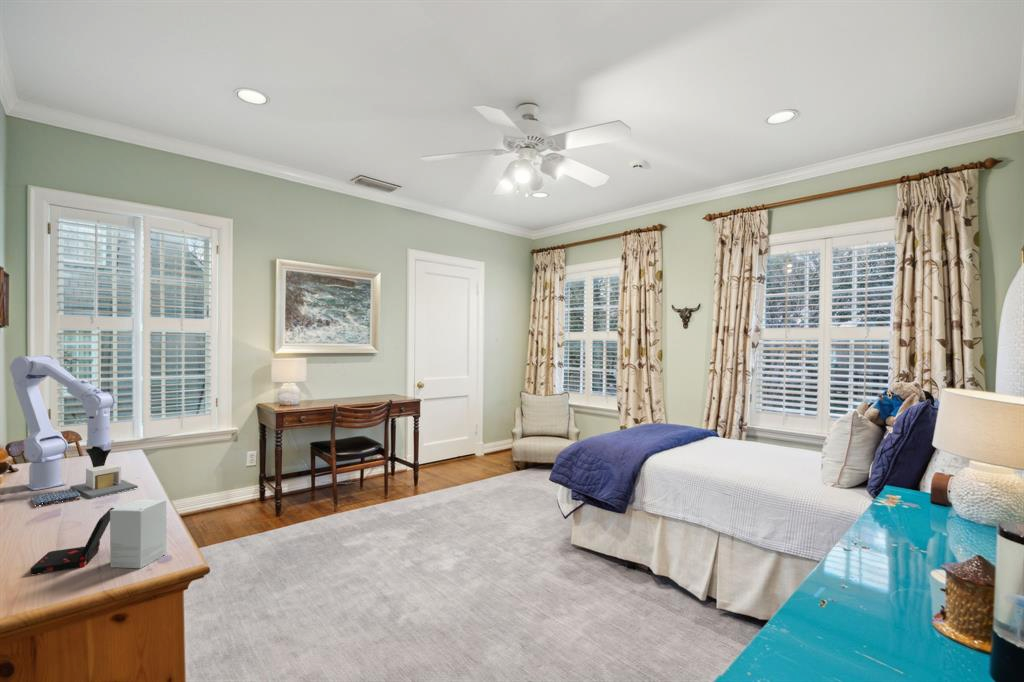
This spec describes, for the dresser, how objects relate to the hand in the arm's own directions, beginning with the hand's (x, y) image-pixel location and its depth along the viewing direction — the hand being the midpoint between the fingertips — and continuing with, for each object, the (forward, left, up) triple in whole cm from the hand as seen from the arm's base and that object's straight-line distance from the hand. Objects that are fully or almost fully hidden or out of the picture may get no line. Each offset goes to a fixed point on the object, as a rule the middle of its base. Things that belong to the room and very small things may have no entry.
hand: (98, 469), depth 159 cm
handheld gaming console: (+63, -24, -6) cm, 67 cm away
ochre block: (+4, 0, -6) cm, 7 cm away
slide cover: (+4, 0, -4) cm, 6 cm away
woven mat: (+6, -12, -7) cm, 15 cm away
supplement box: (+75, -16, -6) cm, 76 cm away
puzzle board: (+5, 0, -6) cm, 7 cm away
